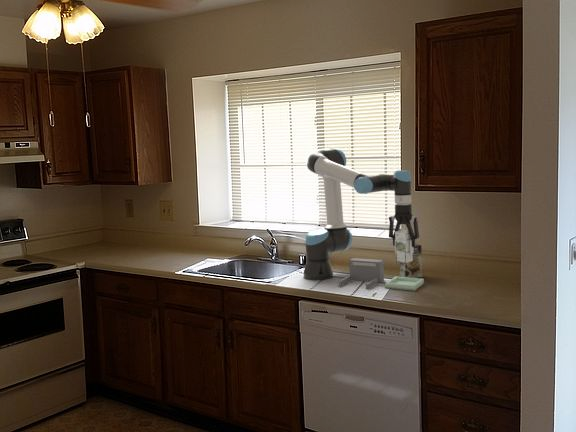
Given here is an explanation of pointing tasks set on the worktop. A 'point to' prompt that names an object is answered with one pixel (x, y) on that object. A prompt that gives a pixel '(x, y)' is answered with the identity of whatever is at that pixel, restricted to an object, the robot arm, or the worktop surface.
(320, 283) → the worktop surface
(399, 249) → the syrup box
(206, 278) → the worktop surface
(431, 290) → the worktop surface
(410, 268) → the coffee box
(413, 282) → the tray
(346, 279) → the bay
